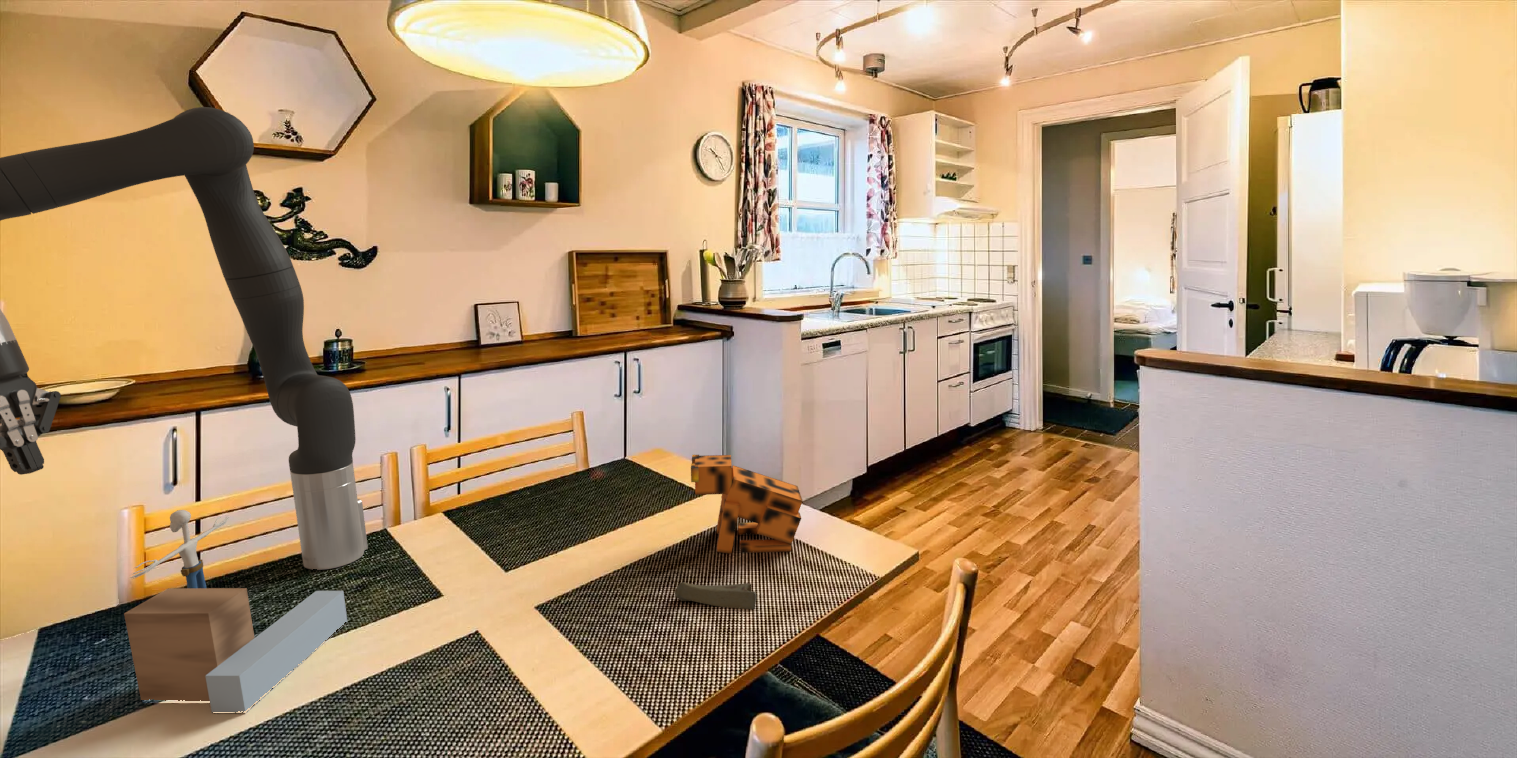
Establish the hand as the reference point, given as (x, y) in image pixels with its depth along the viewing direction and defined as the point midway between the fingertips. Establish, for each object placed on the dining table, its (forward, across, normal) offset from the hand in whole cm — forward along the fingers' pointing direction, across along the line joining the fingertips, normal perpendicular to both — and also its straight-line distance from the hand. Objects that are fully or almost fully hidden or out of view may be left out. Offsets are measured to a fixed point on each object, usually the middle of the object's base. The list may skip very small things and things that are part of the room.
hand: (31, 471), depth 89 cm
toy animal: (+41, +35, -87) cm, 103 cm away
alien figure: (+28, 0, -12) cm, 30 cm away
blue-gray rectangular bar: (+30, -5, -29) cm, 42 cm away
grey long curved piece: (+39, +12, -84) cm, 93 cm away
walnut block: (+28, -10, -22) cm, 37 cm away
